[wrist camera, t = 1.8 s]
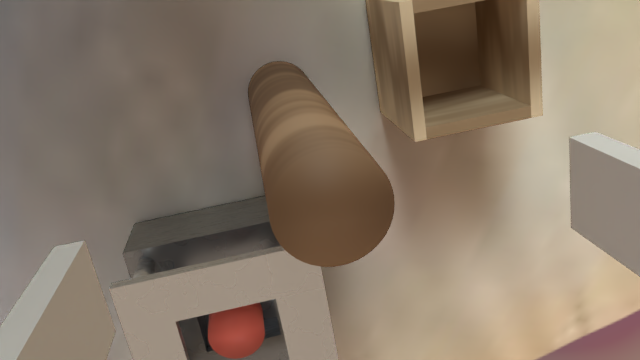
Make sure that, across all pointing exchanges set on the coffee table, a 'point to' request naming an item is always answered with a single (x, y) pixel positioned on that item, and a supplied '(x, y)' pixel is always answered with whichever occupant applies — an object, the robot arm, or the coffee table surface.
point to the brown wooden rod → (315, 172)
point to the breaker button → (237, 331)
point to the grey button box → (219, 286)
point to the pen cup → (456, 63)
